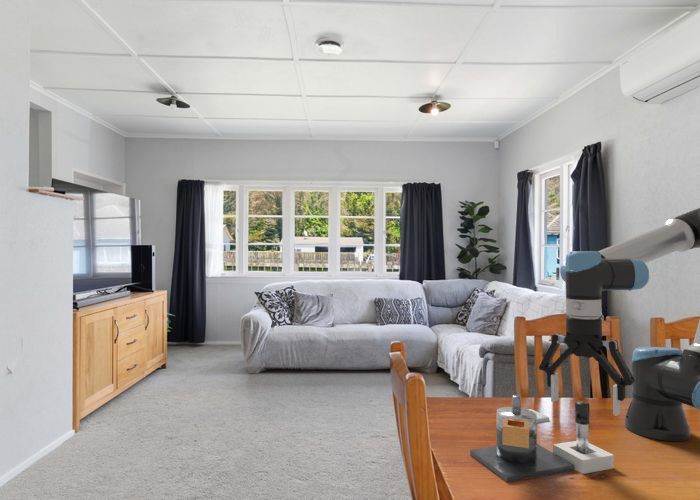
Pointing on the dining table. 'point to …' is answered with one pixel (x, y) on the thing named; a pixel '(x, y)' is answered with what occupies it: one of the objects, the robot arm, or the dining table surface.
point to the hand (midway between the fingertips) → (584, 407)
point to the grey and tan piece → (516, 423)
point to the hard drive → (540, 416)
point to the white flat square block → (585, 457)
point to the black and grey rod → (582, 426)
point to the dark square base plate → (520, 460)
